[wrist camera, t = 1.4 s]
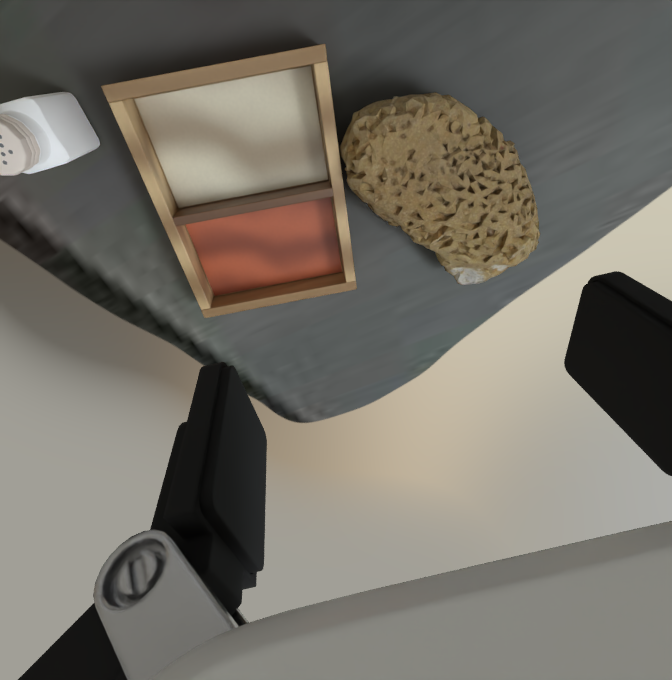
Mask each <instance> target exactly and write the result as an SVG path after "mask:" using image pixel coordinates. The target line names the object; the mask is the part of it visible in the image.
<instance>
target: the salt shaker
mask: <svg viewBox="0 0 672 680" xmlns="http://www.w3.org/2000/svg"><path fill="white" fill-rule="evenodd" d="M99 146H100V142H99V138H98V137H97V135H96V133H95V131H94V129H93V128H92V126H91V124H90V122H89V121H88V119H87V117H86V115H85V114H84V112H83V110H82V108H81V107H80V105H79V103H78V101H77V100H76V98H75V97H74V96H73V95H72V94H71V93H68V92H57V93H50V94H43V95H36V96H29V97H23V98H20V99H16V100H13V101H10V102H6V103H3V104H0V175H17V174H20V173H27V174H32V173H36V172H39V171H43V170H46V169H49V168H53V167H56V166H59V165H62V164H66V163H68V162H70V161H72V160H74V159H76V158H78V157H81V156H83V155H85V154H87V153H89V152H91V151H93V150H95V149H97V148H98V147H99Z"/></svg>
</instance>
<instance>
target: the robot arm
mask: <svg viewBox="0 0 672 680" xmlns="http://www.w3.org/2000/svg"><path fill="white" fill-rule="evenodd" d="M564 364H565V368H566V370H567V372H568V373H569V375H570V376H571V377H572V378H573V379H574V380H575V381H576V382H577V383H578V384H579V385H580V386H581V387H582V388H583V389H584V390H585V391H586V392H587V393H588V394H589V395H590V396H591V397H592V398H593V399H594V400H595V402H596V403H597V404H598V405H599V406H600V407H601V408H602V409H603V410H604V411H605V412H606V413H607V414H608V415H609V416H610V417H611V418H612V419H613V420H614V421H615V422H616V423H617V424H618V425H619V426H620V427H621V428H622V429H623V430H624V431H625V432H626V433H627V435H628V436H629V437H631V439H632V440H633V441H634V442H635V443H636V444H637V445H638V446H639V447H640V448H641V449H642V450H643V451H644V452H645V453H646V454H647V455H648V456H649V457H650V458H651V459H652V460H653V461H654V463H656V464H657V466H658V467H659V468H660V469H661V470H662V471H664V472H665V473H666V474H668V475H670V476H672V301H670V300H668V299H667V298H665V297H663V296H662V295H660V294H658V293H656V292H655V291H653V290H651V289H650V288H648V287H646V286H644V285H643V284H641V283H639V282H637V281H636V280H634V279H632V278H631V277H629V276H627V275H625V274H624V273H621V272H611V273H607V274H602V275H598V276H594V277H592V278H591V279H590V280H589V281H588V284H586V285H585V286H584V287H583V290H582V294H581V297H580V302H579V305H578V309H577V313H576V317H575V321H574V325H573V329H572V333H571V337H570V341H569V345H568V349H567V353H566V357H565V362H564ZM266 450H267V440H266V434H265V431H264V428H263V426H262V424H261V422H260V420H259V418H258V416H257V414H256V412H255V410H254V407H253V405H252V403H251V401H250V399H249V397H248V395H247V392H246V390H245V388H244V386H243V384H242V382H241V380H240V378H239V375H238V373H237V371H236V369H235V367H234V366H227V365H226V363H225V362H220V363H216V364H212V365H207V366H203V367H202V368H201V369H200V372H199V376H198V380H197V384H196V388H195V392H194V396H193V400H192V404H191V408H190V412H189V417H188V420H187V422H184V423H182V424H181V425H180V426H179V428H178V430H177V434H176V437H175V441H174V445H173V448H172V452H171V456H170V459H169V463H168V467H167V470H166V474H165V478H164V481H163V485H162V489H161V492H160V496H159V500H158V503H157V507H156V511H155V515H154V518H153V522H152V525H151V529H150V530H149V531H143V532H141V533H138V534H136V535H134V536H132V537H130V538H129V539H128V540H126V541H125V542H123V543H122V544H121V545H120V546H119V547H118V548H117V549H116V550H115V551H114V552H113V553H112V554H111V555H110V556H109V558H108V559H107V560H106V562H105V563H104V565H103V567H102V568H101V570H100V572H99V575H98V577H97V580H96V582H95V588H94V594H93V597H94V602H95V603H94V604H93V605H92V606H91V607H90V608H89V609H88V610H87V611H86V612H85V613H84V614H83V615H82V616H81V617H80V618H79V619H78V620H77V621H76V622H75V623H74V624H73V625H72V626H71V627H70V628H69V629H68V630H67V631H66V632H65V633H64V634H63V635H62V636H61V637H60V638H59V639H58V640H57V641H56V642H55V643H54V644H53V645H52V646H51V647H50V648H49V649H48V650H47V651H46V652H45V653H44V654H43V655H42V656H41V657H40V658H39V659H38V660H37V661H36V662H35V663H34V664H33V665H32V666H31V667H30V668H29V669H28V670H27V671H26V672H25V673H24V674H23V675H22V676H21V677H20V678H19V679H18V680H672V521H669V522H665V523H660V524H656V525H651V526H647V527H642V528H638V529H633V530H629V531H625V532H620V533H616V534H612V535H607V536H603V537H598V538H594V539H589V540H585V541H581V542H576V543H572V544H568V545H563V546H559V547H555V548H550V549H545V550H541V551H537V552H532V553H528V554H524V555H519V556H515V557H511V558H506V559H502V560H497V561H493V562H489V563H484V564H480V565H476V566H471V567H467V568H463V569H459V570H454V571H450V572H446V573H441V574H437V575H433V576H429V577H424V578H420V579H416V580H411V581H407V582H403V583H399V584H394V585H390V586H386V587H381V588H377V589H373V590H369V591H365V592H360V593H357V594H353V595H349V596H344V597H341V598H337V599H333V600H329V601H325V602H321V603H317V604H313V605H309V606H305V607H301V608H297V609H293V610H289V611H285V612H282V613H279V614H276V615H273V616H270V617H266V618H263V619H260V620H256V621H254V622H250V623H249V622H248V621H247V620H246V618H245V617H244V616H243V614H242V613H241V612H240V610H239V609H238V607H239V606H240V604H241V602H242V590H243V589H247V588H252V587H256V574H257V572H258V571H261V570H262V569H263V566H264V538H265V534H264V533H265V494H266Z"/></svg>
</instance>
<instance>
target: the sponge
mask: <svg viewBox="0 0 672 680" xmlns="http://www.w3.org/2000/svg"><path fill="white" fill-rule="evenodd" d="M340 156H341V157H342V159H343V160H344V162H345V164H346V168H345V170H346V171H347V172H346V174H347V176H348V177H347V183H348V185H349V187H350V188H351V190H352V191H353V192H354V193H355V194H356V195H357V196H358V197H359V198H360V199H361V200H362V201H363V202H365V203H368V206H369V207H370V208H371V209H372V210H373V212H374V213H376V214H377V215H378V216H380V217H381V218H382V219H383V220H386V221H388V224H389V225H392V226H401V228H402V230H403V231H404V232H405V233H407V234H408V235H409V236H410V237H411V239H412V240H413V242H415V243H417V244H420V245H423V246H425V247H426V248H427V249H430V250H432V251H435V253H436V256H437V258H438V261H439V262H440V264H441V265H443V266H445V271H447V272H449V273H450V274H452V275H453V276H454V278H455V279H456V281H457V283H458V284H461V285H466V284H478V283H482V282H485V281H486V280H488V279H489V278H491V277H493V276H497V275H499V274H500V273H502V272H504V271H505V270H506V269H507V268H509V267H512V266H516V265H517V264H519V263H520V262H522V261H523V260H525V259H527V258H528V256H529V253H531V252H532V251H534V250H535V249H536V246H537V244H538V243H539V242H538V238H539V236H540V232H539V221H538V214H537V206H536V203H535V197H534V194H533V191H532V189H531V185H530V182H529V180H528V177H527V173H526V170H525V168H524V167H523V166H522V165H521V164H520V161H519V158H518V157H519V156H518V153H517V150H516V149H515V148H514V143H513V142H511V141H507V142H506V141H504V139H503V134H502V133H501V132H499V131H498V130H497V129H496V128H494V127H493V126H492V125H491V123H490V122H489V121H488V120H487V119H486V118H485V117H480V118H478V117H477V115H476V114H475V113H474V112H473V111H472V110H471V109H470V108H468V107H467V106H465V105H463V104H462V103H461V102H459V101H457V100H456V99H454V98H453V97H451V96H450V95H443V96H441V95H440V94H438V93H436V92H435V93H428V94H417V95H407V96H402V97H396V96H395V97H394V99H389V100H382V101H376V102H374V103H372V104H369V105H367V106H365V107H364V108H362V109H361V110H360V111H357V112H354V113H353V117H352V121H351V123H350V125H349V126H348V128H347V131H346V133H345V136H344V138H343V140H342V143H341V145H340Z"/></svg>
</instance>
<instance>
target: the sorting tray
mask: <svg viewBox="0 0 672 680" xmlns="http://www.w3.org/2000/svg"><path fill="white" fill-rule="evenodd" d="M101 87H102V90H103V92H104V94H105V96H106V99H107V101H108V102H110V103H109V105H110V107H111V109H112V111H113V114H114V116H115V118H116V120H117V123H118V125H119V127H120V129H121V132H122V134H123V136H124V138H125V141H126V143H127V145H128V147H129V149H130V152H131V154H132V156H133V158H134V161H135V163H136V165H137V167H138V170H139V172H140V174H141V176H142V179H143V181H144V183H145V185H146V188H147V190H148V192H149V194H150V196H151V199H152V201H153V203H154V205H155V208H156V210H157V212H158V214H159V217H160V219H161V221H162V223H163V226H164V228H165V230H166V232H167V234H168V237H169V239H170V241H171V243H172V246H173V248H174V250H175V252H176V255H177V257H178V259H179V261H180V264H181V266H182V268H183V270H184V272H185V275H186V277H187V279H188V281H189V284H190V286H191V288H192V290H193V293H194V295H195V297H196V299H197V302H198V304H199V306H200V308H201V311H202V313H203V315H204V317H205V318H208V317H213V316H219V315H224V314H229V313H234V312H239V311H245V310H250V309H255V308H260V307H266V306H271V305H276V304H281V303H287V302H292V301H297V300H302V299H308V298H313V297H318V296H323V295H328V294H334V293H339V292H344V291H349V290H355V289H357V286H356V278H355V270H354V263H353V255H352V247H351V240H350V232H349V224H348V216H347V209H346V201H345V193H344V186H343V178H342V170H341V162H340V155H339V147H338V139H337V132H336V124H335V116H334V108H333V101H332V93H331V85H330V78H329V70H328V62H327V55H326V47H325V44H321V45H315V46H310V47H305V48H299V49H294V50H289V51H283V52H278V53H273V54H268V55H262V56H257V57H252V58H246V59H241V60H236V61H230V62H225V63H220V64H214V65H209V66H204V67H198V68H193V69H188V70H183V71H177V72H172V73H167V74H161V75H156V76H151V77H145V78H140V79H135V80H129V81H124V82H119V83H113V84H108V85H103V86H101Z"/></svg>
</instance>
